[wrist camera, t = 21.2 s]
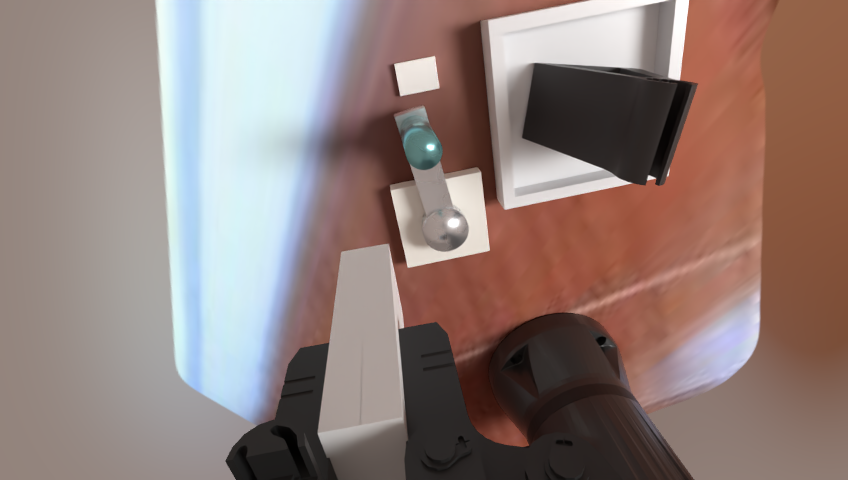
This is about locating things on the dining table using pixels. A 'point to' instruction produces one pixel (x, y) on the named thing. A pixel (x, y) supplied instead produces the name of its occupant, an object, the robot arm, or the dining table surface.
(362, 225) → the dining table surface
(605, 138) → the phone stand
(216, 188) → the dining table surface
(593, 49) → the tray
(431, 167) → the crank
